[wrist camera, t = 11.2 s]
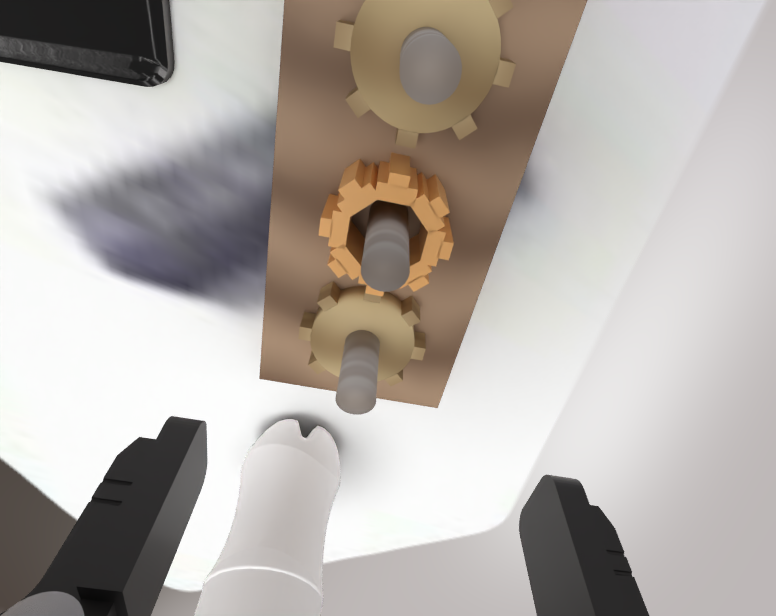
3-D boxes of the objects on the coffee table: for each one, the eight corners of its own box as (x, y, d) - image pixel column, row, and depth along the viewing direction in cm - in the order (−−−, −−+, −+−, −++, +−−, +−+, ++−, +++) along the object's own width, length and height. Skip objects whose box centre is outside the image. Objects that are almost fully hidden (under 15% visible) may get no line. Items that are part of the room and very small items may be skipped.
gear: (336, 140, 22) (327, 159, 20) (463, 167, 23) (470, 189, 20) (321, 255, 26) (312, 283, 23) (431, 276, 26) (434, 306, 24)
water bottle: (234, 431, 37) (15, 1002, 16) (305, 396, 34) (158, 1010, 14) (293, 480, 40) (175, 1008, 19) (362, 451, 38) (313, 1015, 17)
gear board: (304, -147, 18) (248, -227, 12) (596, -70, 19) (698, -102, 13) (266, 358, 33) (231, 453, 26) (435, 387, 34) (444, 484, 27)
